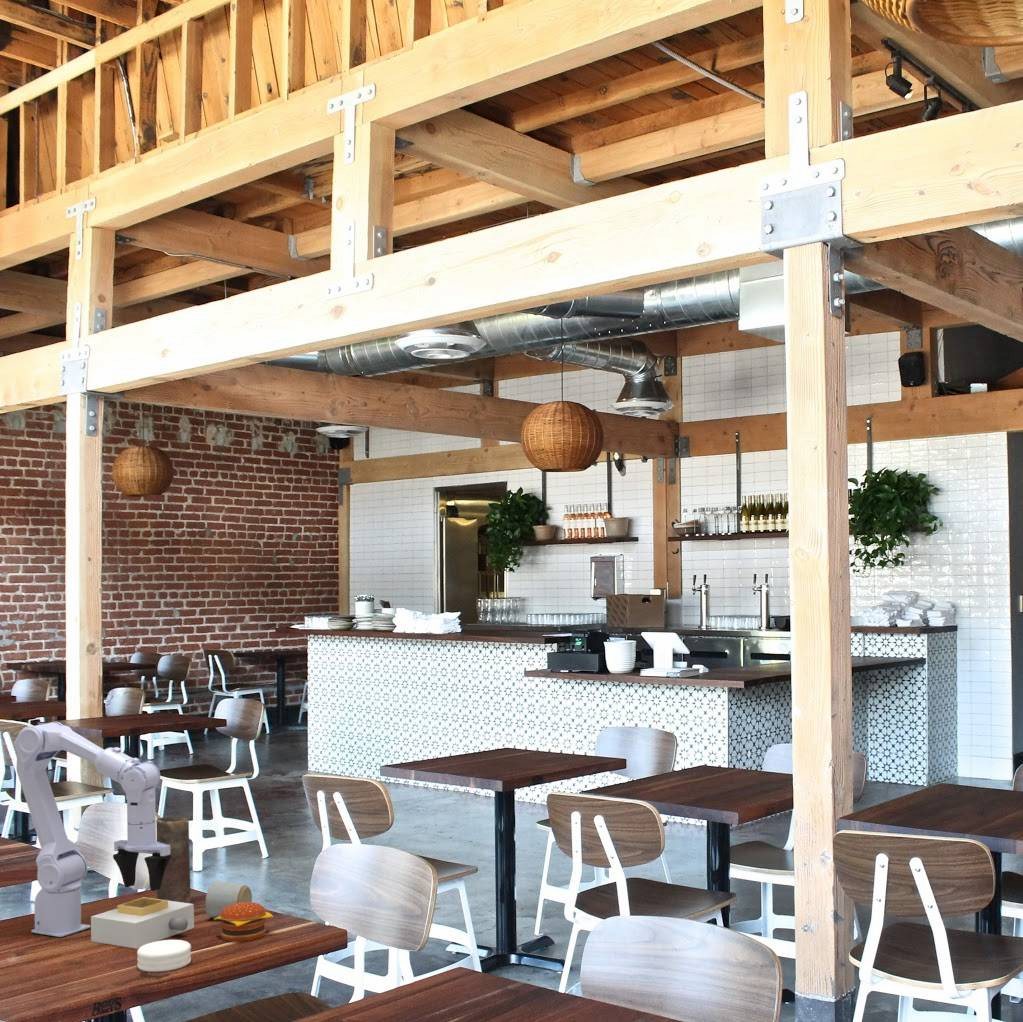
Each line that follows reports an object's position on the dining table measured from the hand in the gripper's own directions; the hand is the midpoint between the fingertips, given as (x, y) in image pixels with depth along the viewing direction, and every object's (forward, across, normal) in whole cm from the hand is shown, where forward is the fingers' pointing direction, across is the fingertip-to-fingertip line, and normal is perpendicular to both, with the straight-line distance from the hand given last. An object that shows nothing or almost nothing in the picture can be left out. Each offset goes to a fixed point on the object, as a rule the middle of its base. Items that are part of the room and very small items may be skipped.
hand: (142, 887), depth 256 cm
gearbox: (+10, +2, 0) cm, 10 cm away
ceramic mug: (+10, +7, +19) cm, 22 cm away
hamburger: (+10, +20, +8) cm, 24 cm away
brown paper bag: (+10, -10, +19) cm, 24 cm away
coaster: (+10, +20, -13) cm, 25 cm away
